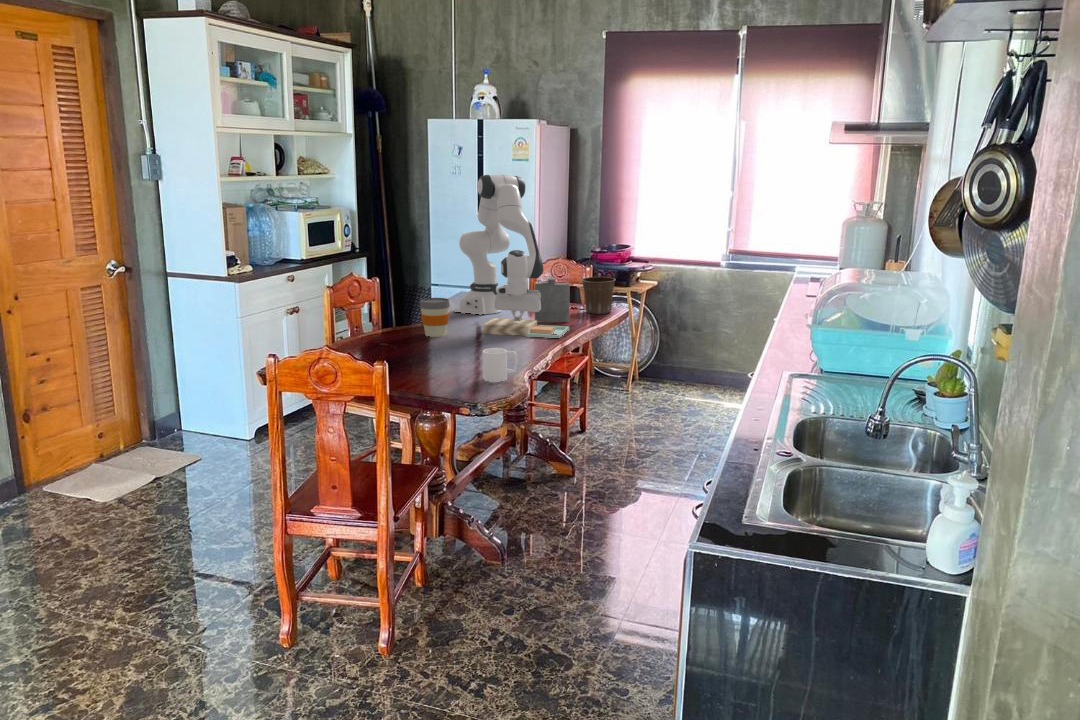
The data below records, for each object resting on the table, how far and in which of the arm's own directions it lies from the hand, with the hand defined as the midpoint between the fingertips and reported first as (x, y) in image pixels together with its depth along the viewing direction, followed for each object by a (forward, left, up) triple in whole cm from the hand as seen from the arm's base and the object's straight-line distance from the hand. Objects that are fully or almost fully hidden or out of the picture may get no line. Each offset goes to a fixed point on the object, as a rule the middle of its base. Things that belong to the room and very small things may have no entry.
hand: (517, 320), depth 352 cm
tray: (+14, 0, -5) cm, 15 cm away
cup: (+16, -73, -5) cm, 75 cm away
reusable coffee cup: (-32, -14, -5) cm, 36 cm away
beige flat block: (-3, 0, -5) cm, 6 cm away
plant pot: (+25, +52, -5) cm, 58 cm away
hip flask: (+9, +25, -5) cm, 27 cm away
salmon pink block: (+11, -1, -5) cm, 12 cm away
